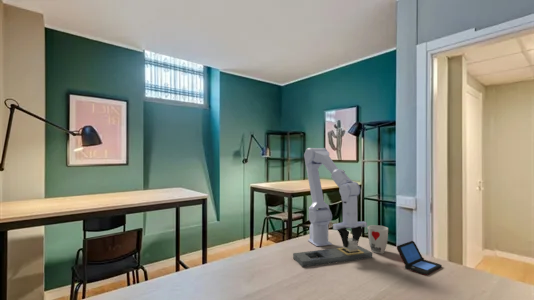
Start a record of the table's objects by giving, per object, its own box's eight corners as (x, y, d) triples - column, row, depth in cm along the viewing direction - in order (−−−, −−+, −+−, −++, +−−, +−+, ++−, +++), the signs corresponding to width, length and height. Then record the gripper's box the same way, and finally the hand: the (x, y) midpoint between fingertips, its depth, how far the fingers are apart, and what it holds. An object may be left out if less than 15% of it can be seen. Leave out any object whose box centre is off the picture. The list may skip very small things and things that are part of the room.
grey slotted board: (293, 258, 111) (293, 252, 111) (358, 250, 120) (358, 245, 120) (302, 267, 102) (302, 261, 102) (372, 257, 111) (372, 252, 111)
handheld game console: (426, 277, 94) (426, 254, 94) (395, 266, 103) (395, 246, 103) (443, 267, 101) (442, 247, 101) (413, 258, 110) (412, 239, 110)
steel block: (343, 253, 114) (343, 238, 115) (352, 252, 116) (351, 237, 116) (349, 256, 111) (348, 241, 111) (357, 255, 112) (357, 240, 112)
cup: (363, 249, 120) (363, 226, 120) (377, 247, 124) (377, 224, 124) (378, 256, 113) (378, 231, 113) (392, 252, 116) (392, 228, 116)
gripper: (339, 215, 108) (339, 251, 107) (371, 213, 112) (371, 247, 112) (330, 212, 114) (330, 245, 114) (360, 209, 118) (361, 242, 118)
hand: (350, 246), depth 113 cm, fingers closed on steel block, 4 cm apart
